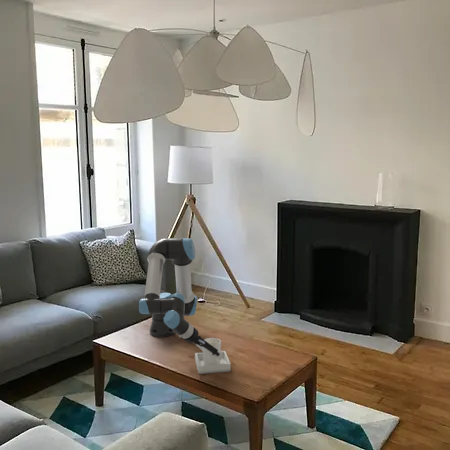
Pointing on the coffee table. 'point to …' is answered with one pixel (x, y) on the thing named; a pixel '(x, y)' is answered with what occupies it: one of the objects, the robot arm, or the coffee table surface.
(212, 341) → the candle holder
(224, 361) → the lipped tray
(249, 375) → the coffee table surface
